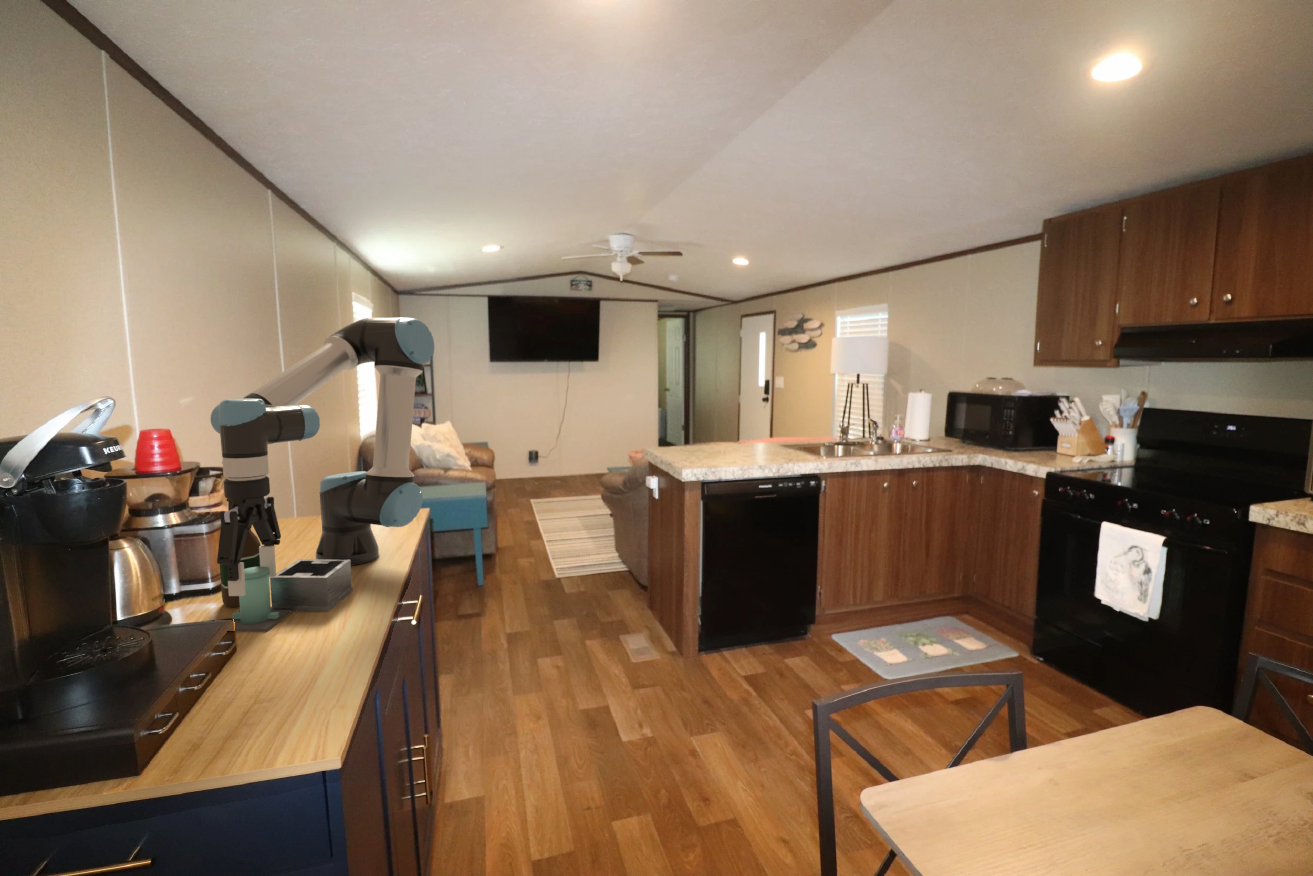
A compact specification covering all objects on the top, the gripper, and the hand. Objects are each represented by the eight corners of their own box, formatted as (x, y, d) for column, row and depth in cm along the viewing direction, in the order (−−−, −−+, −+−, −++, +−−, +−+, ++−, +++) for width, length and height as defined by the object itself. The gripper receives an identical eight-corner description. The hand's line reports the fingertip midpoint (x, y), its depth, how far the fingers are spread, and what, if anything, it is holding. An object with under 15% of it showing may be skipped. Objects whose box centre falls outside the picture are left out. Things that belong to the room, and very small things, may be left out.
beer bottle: (273, 598, 137) (266, 493, 134) (239, 611, 130) (232, 500, 126) (247, 592, 139) (241, 489, 136) (213, 605, 132) (205, 497, 129)
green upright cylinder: (285, 613, 128) (282, 566, 126) (270, 624, 122) (267, 575, 121) (242, 613, 127) (239, 566, 126) (225, 624, 122) (222, 575, 120)
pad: (247, 612, 129) (246, 609, 129) (291, 612, 129) (291, 609, 129) (219, 631, 120) (219, 628, 120) (266, 631, 121) (266, 628, 120)
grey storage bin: (299, 590, 142) (298, 559, 141) (353, 590, 142) (351, 559, 141) (270, 611, 130) (268, 577, 129) (328, 611, 130) (327, 578, 129)
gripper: (260, 466, 131) (266, 566, 134) (186, 488, 109) (195, 607, 112) (296, 467, 132) (301, 566, 135) (230, 488, 110) (238, 607, 112)
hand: (253, 585), depth 123 cm, fingers open, 10 cm apart
